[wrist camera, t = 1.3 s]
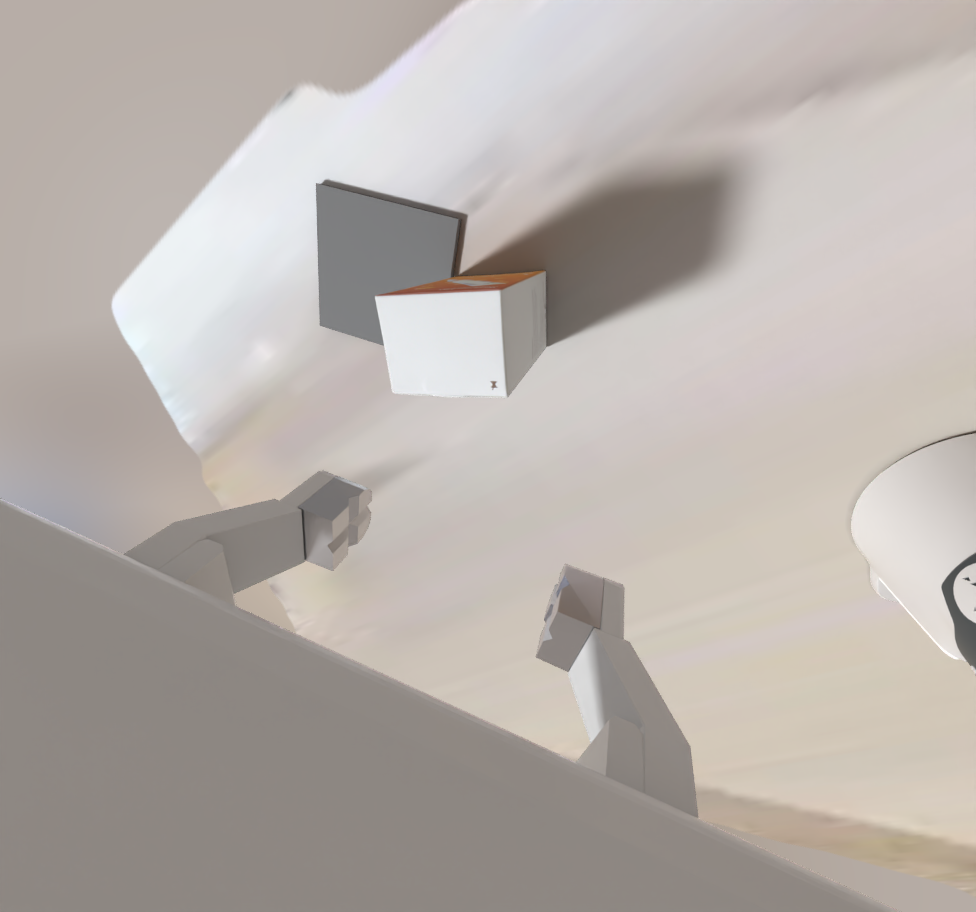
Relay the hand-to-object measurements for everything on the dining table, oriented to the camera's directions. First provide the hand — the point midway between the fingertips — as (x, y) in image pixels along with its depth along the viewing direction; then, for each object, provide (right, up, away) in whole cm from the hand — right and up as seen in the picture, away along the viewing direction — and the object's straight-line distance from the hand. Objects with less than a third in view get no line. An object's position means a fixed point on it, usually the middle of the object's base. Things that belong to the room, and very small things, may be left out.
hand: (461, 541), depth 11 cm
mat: (-9, +18, +25) cm, 33 cm away
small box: (+2, +15, +24) cm, 28 cm away
